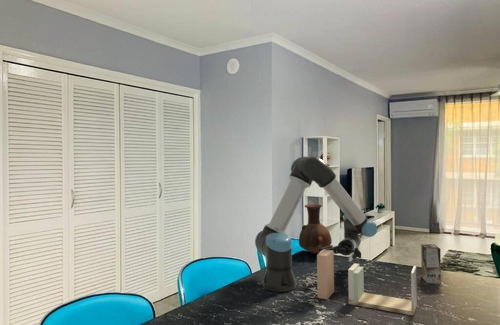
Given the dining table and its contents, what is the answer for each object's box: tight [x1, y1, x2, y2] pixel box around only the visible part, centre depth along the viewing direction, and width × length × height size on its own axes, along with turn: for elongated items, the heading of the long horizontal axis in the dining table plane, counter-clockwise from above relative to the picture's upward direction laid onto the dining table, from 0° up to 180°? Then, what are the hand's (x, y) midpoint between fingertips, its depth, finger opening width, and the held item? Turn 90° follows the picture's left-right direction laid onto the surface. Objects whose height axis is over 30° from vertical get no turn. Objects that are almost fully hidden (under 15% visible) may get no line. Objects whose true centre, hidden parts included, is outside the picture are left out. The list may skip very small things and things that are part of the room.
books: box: [347, 262, 365, 301], centre depth 149 cm, size 4×10×12 cm, turn 150°
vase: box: [298, 203, 333, 255], centre depth 222 cm, size 25×20×30 cm
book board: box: [348, 292, 418, 316], centre depth 144 cm, size 24×11×2 cm, turn 60°
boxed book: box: [316, 250, 335, 300], centre depth 155 cm, size 4×10×18 cm, turn 150°
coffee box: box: [420, 243, 442, 284], centre depth 171 cm, size 9×6×16 cm
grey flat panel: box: [410, 265, 418, 311], centre depth 138 cm, size 1×10×14 cm, turn 150°
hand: (334, 257), depth 165 cm, fingers open, 13 cm apart
